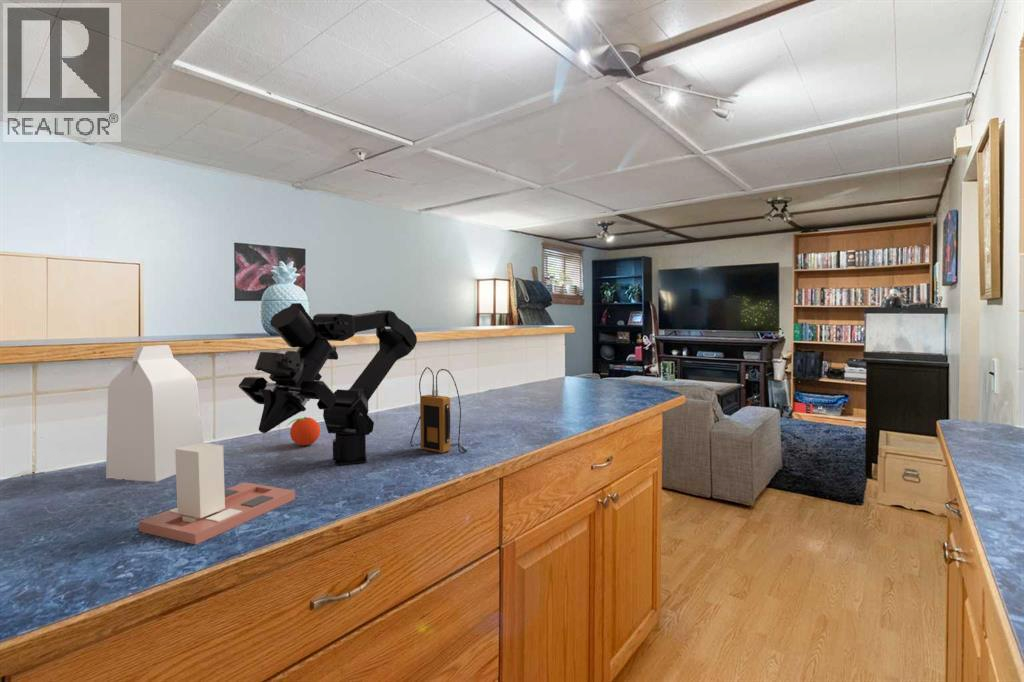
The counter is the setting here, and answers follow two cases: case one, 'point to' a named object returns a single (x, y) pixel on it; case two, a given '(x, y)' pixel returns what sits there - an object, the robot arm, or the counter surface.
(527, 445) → the counter surface
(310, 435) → the clementine
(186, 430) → the milk
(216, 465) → the switch tab
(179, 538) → the switch block
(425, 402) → the multimeter
